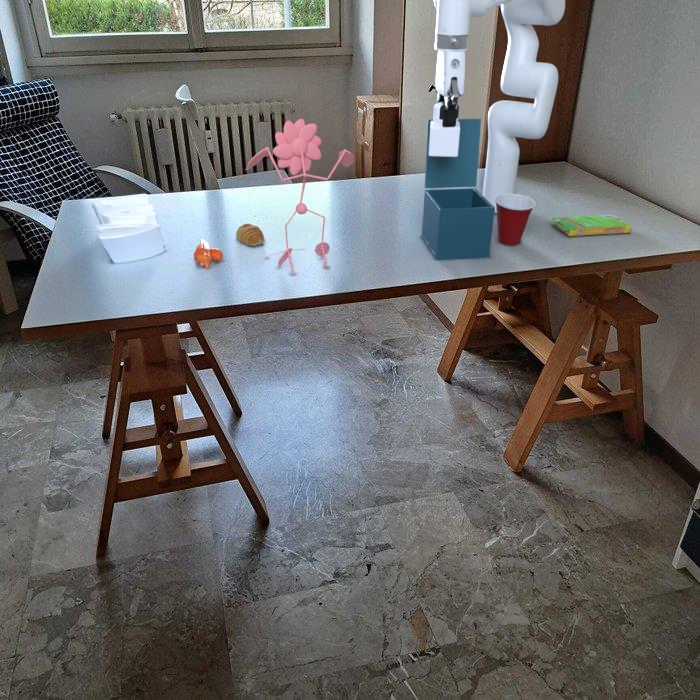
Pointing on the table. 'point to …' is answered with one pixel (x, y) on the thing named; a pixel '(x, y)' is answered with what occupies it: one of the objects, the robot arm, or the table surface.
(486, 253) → the cool box
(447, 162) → the cool box lid
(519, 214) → the plastic cup
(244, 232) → the pastry
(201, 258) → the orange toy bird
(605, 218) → the game box
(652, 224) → the table surface
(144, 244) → the wavy white extrusion
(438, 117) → the medicine bottle
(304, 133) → the figurine
